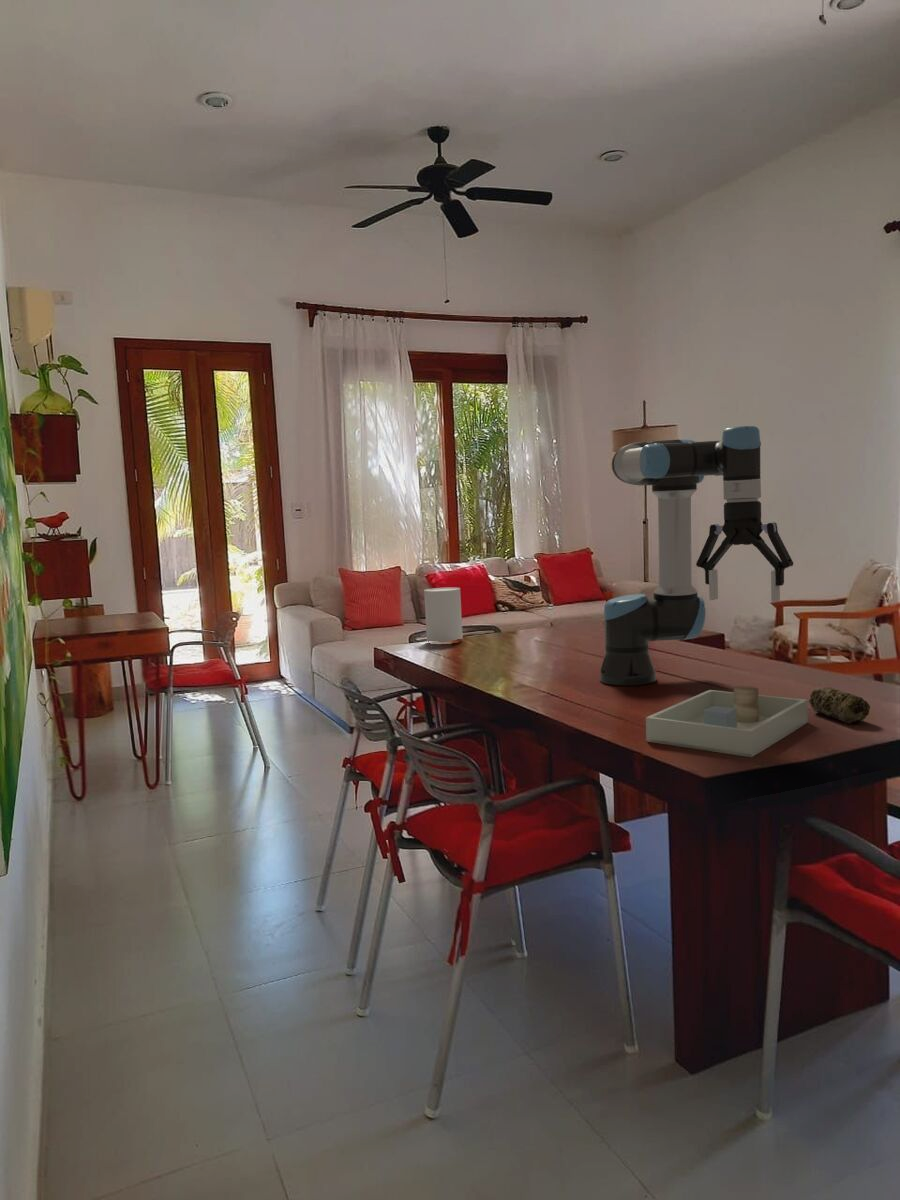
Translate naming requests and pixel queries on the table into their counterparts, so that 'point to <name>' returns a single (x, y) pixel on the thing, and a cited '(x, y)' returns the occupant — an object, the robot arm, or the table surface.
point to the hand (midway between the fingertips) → (743, 600)
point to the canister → (443, 614)
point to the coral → (839, 705)
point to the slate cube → (720, 716)
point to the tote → (746, 740)
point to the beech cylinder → (746, 704)
